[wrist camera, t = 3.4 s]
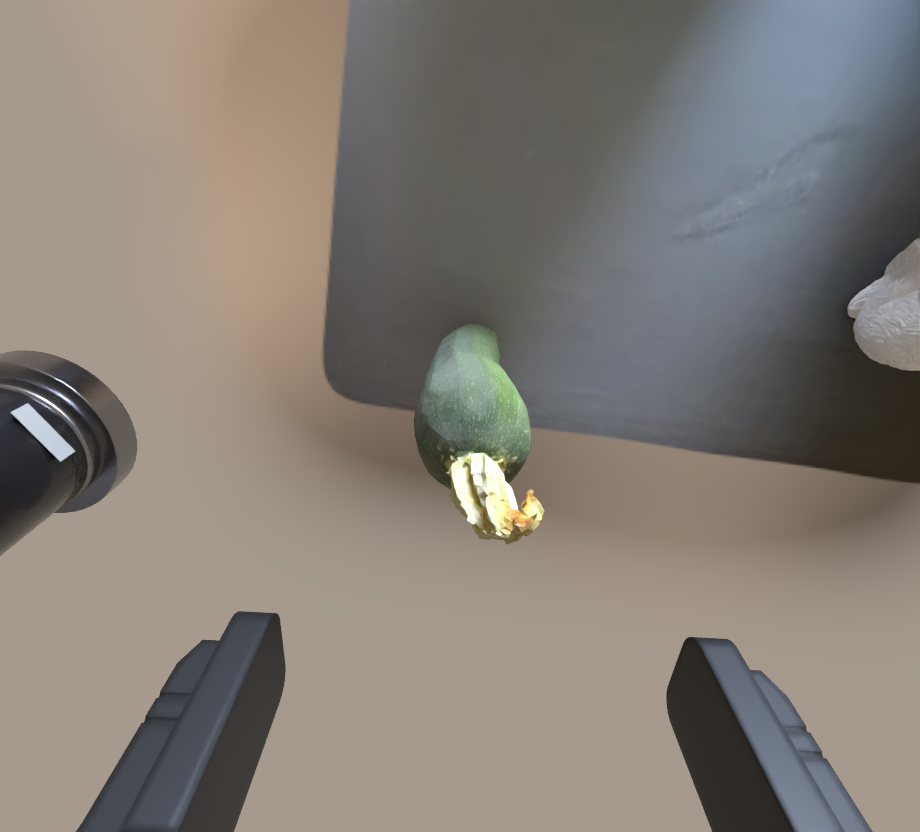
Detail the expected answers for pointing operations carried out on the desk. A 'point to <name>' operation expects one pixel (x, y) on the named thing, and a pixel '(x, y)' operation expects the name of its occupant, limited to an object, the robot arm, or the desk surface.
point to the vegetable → (476, 433)
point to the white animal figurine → (891, 313)
